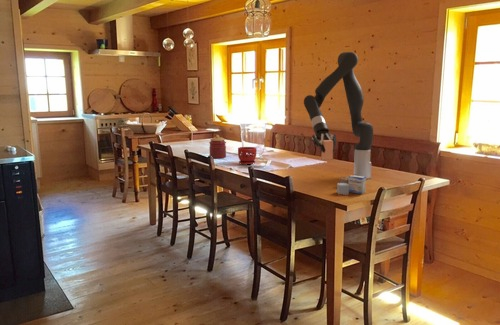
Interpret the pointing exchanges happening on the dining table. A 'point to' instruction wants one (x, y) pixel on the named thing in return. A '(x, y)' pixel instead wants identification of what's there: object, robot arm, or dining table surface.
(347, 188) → the slate blue cube
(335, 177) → the dining table surface
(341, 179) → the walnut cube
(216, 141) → the canister
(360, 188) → the medicine box
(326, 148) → the terracotta block
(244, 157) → the plant pot
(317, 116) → the robot arm
